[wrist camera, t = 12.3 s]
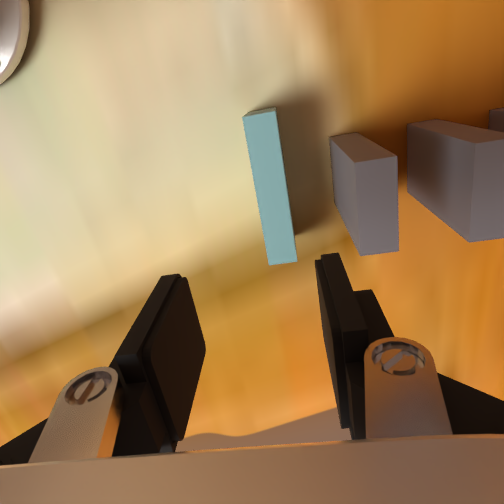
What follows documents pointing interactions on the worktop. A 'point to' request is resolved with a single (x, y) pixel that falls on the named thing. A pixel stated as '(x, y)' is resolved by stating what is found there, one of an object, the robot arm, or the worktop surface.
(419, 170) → the domino
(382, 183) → the domino
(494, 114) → the domino
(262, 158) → the domino
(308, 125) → the worktop surface
